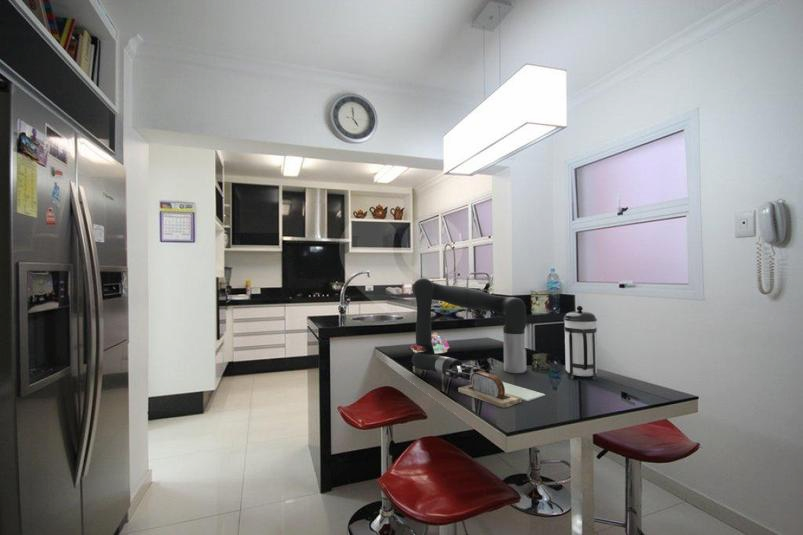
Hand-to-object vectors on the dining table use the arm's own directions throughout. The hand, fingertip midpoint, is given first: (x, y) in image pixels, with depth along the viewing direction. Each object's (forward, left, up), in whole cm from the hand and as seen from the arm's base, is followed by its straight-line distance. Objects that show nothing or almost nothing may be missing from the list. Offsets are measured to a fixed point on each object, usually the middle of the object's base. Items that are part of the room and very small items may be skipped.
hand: (477, 375), depth 138 cm
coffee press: (-50, +12, -7) cm, 52 cm away
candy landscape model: (-37, -73, -7) cm, 82 cm away
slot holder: (0, +5, -7) cm, 8 cm away
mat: (-12, +6, -7) cm, 15 cm away
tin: (0, +5, -7) cm, 8 cm away
